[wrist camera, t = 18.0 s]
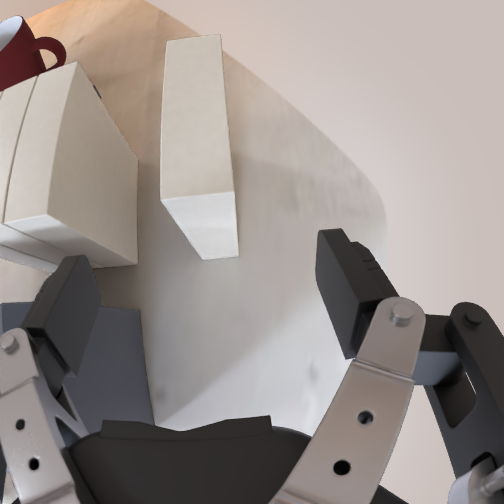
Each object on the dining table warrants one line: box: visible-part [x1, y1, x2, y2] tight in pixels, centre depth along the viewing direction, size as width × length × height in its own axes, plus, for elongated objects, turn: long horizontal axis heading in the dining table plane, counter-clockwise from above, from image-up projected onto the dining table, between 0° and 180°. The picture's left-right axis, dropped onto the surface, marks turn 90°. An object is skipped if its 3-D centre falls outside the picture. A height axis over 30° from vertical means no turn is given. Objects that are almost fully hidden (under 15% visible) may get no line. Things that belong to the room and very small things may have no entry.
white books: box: [0, 61, 138, 273], centre depth 17 cm, size 8×9×12 cm
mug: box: [0, 16, 66, 92], centre depth 20 cm, size 10×8×10 cm
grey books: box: [0, 302, 154, 473], centre depth 15 cm, size 10×9×11 cm
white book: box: [160, 34, 239, 260], centre depth 17 cm, size 3×9×12 cm, turn 6°
